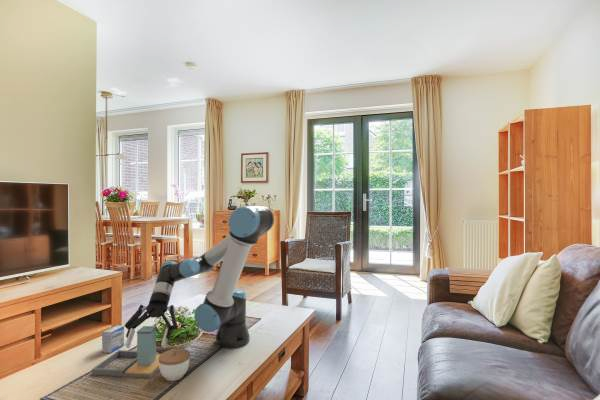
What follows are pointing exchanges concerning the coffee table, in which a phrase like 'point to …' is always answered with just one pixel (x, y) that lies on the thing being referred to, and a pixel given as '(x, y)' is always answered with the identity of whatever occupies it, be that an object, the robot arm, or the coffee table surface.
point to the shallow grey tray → (111, 372)
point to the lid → (143, 369)
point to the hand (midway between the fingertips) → (145, 346)
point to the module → (146, 346)
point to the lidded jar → (174, 363)
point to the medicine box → (113, 339)
